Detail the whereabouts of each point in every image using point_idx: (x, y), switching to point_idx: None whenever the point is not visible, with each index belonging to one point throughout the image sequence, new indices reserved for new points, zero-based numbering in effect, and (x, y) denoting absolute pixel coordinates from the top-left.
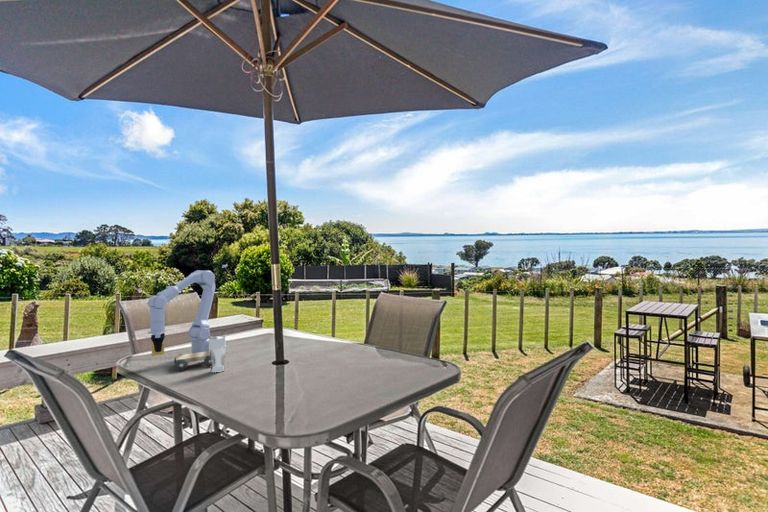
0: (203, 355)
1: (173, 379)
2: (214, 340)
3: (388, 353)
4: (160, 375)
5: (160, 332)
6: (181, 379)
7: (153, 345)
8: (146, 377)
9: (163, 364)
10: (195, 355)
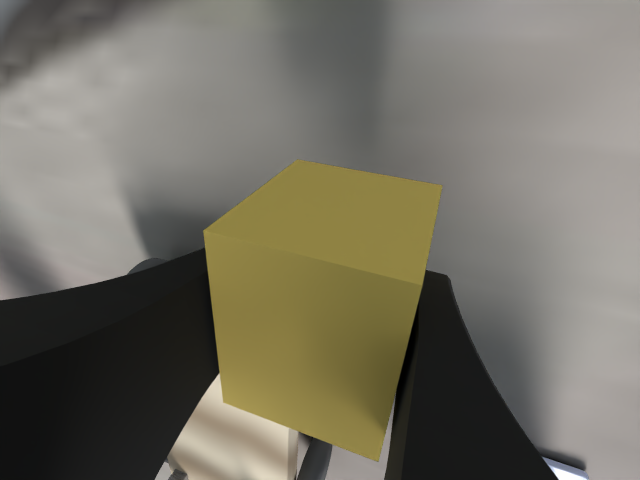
0: (181, 445)
1: (25, 194)
2: None
3: None
4: (121, 147)
5: None
6: (21, 225)
7: (242, 273)
8: (99, 41)
9: (479, 242)
10: (205, 427)
